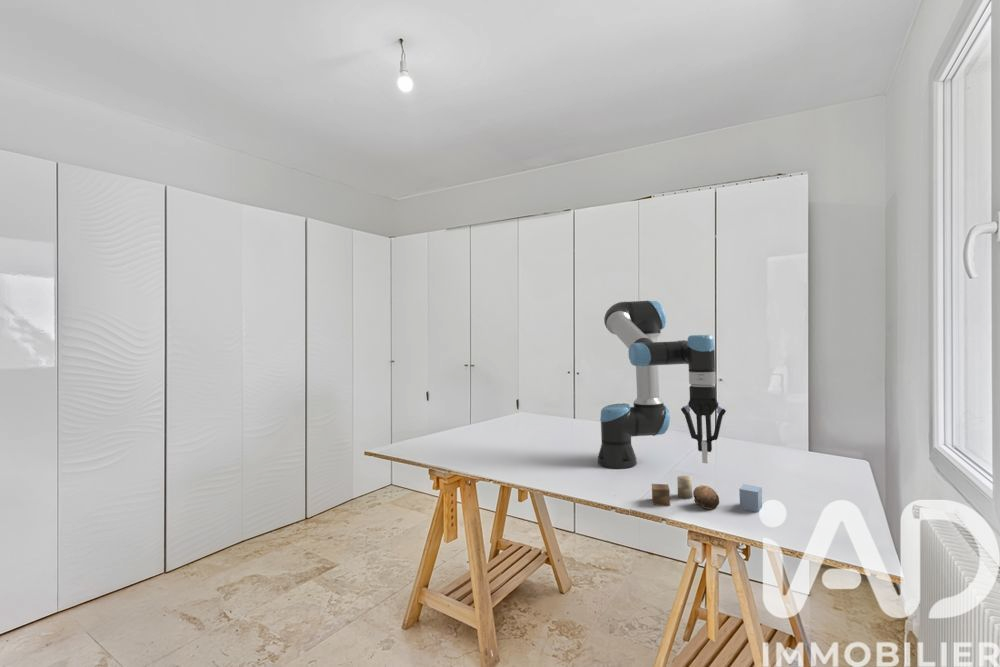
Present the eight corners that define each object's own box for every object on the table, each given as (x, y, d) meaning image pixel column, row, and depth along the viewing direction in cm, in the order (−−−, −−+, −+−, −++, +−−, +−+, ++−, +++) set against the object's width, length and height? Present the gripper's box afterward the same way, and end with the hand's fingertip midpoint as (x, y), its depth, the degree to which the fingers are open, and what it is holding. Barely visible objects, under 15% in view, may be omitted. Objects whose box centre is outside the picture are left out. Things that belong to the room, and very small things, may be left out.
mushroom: (684, 490, 153) (695, 477, 149) (707, 498, 153) (718, 485, 150) (690, 511, 146) (702, 498, 143) (714, 519, 146) (726, 506, 143)
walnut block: (653, 505, 151) (652, 489, 150) (652, 499, 155) (651, 483, 155) (670, 506, 149) (669, 489, 149) (668, 500, 154) (668, 484, 154)
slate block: (739, 508, 145) (739, 488, 145) (744, 503, 149) (743, 484, 149) (758, 512, 142) (757, 492, 142) (762, 507, 146) (761, 487, 145)
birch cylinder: (676, 497, 156) (676, 479, 155) (679, 493, 159) (678, 475, 159) (691, 499, 153) (690, 481, 153) (693, 495, 157) (692, 476, 157)
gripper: (678, 386, 148) (681, 463, 148) (724, 387, 142) (727, 467, 142) (681, 383, 155) (684, 457, 155) (726, 384, 148) (729, 460, 149)
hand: (705, 461), depth 148 cm, fingers closed
